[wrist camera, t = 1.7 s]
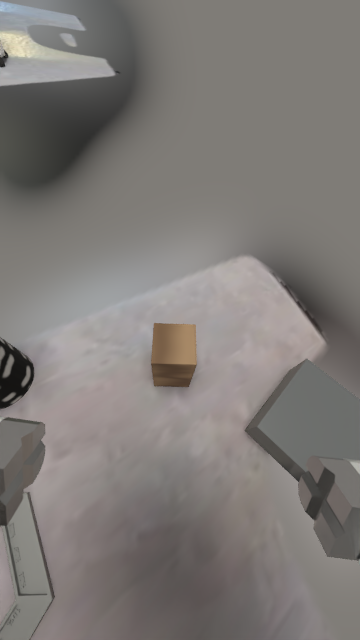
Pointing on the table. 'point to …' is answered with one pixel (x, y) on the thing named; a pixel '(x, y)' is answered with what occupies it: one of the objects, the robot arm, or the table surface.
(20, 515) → the grey hexagonal ring
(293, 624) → the table surface
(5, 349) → the spotted tube
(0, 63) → the coffee press
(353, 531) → the robot arm
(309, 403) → the block
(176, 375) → the oak block
